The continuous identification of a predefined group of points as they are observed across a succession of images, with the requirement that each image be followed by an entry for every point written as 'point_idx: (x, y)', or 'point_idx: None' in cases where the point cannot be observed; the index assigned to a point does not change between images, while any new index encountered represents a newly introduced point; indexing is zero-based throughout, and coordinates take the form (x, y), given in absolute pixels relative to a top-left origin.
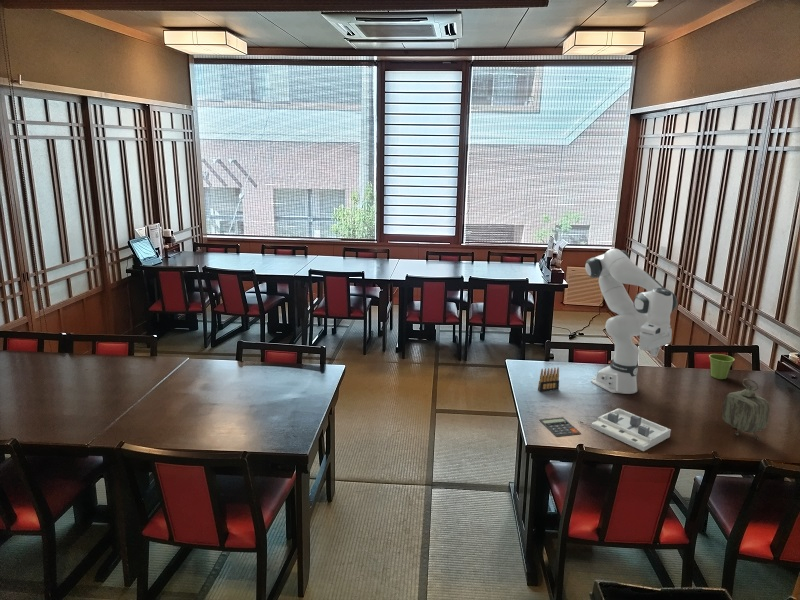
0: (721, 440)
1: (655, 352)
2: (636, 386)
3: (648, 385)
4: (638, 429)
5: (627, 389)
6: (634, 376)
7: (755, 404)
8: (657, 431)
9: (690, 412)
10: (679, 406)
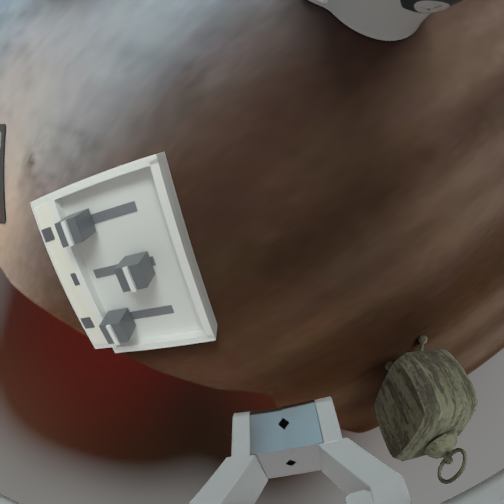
0: (332, 371)
1: (302, 466)
2: (411, 29)
3: (469, 39)
4: (102, 321)
5: (361, 21)
6: (417, 12)
7: (403, 460)
8: (183, 315)
9: (423, 237)
10: (434, 192)
